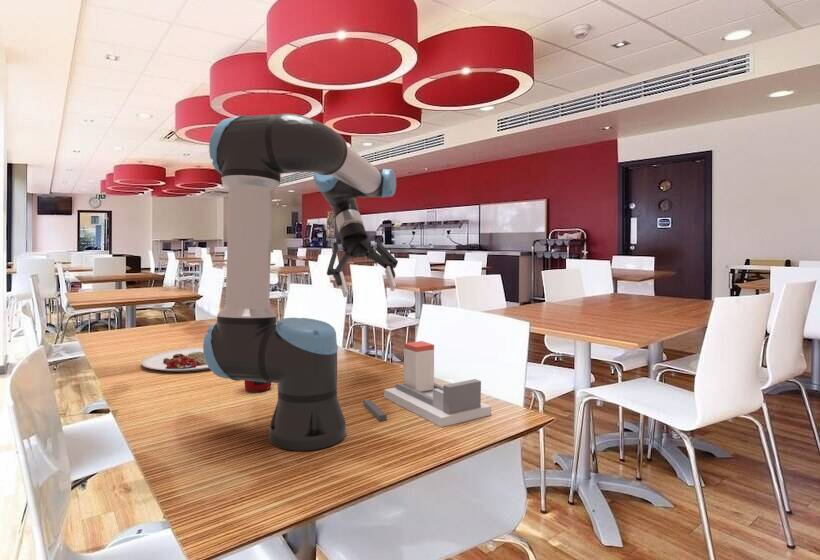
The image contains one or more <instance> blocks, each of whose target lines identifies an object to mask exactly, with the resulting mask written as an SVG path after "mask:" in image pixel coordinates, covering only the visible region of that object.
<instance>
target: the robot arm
mask: <svg viewBox="0 0 820 560" xmlns="http://www.w3.org/2000/svg"><path fill="white" fill-rule="evenodd" d="M210 135H211V136H210V137H209V139H210V140H209V145H208V146H209V147H208V151H209V152H208V153H209V157H210V159H211V160H212V162H211V163H212V166H213V168H214V169H215V170H216V171H217V172H218V173H219V174H221V182H222V183H223V184H224V185H225V186H226V187H227V189H228V209H227V210H228V211H227V212H228V215H227V218H228V219H227V247H226V249H227V251H226V277H225V278H226V280H225V281H226V282H225V284H226V286H225V306H224V307H223V308H222V309H221V310H220V311H219V312H218V313H217V316H216V318H217V320H216V322H214V323H212V324H211V325H210V326H209V327H208V329H207V330H206V332H207V333H206V334H204V337H203V342H202V343H203V345H202V347H203V352H204V358H205V361H206V363H207V365H208V367H209V369H208V370H210V371H211V372H212V374H214V375H215V376H217V377H219V378H222V379H227V380H231V381H234V382H235V381H236V382H238V381H244V382H245V381H257V382H269V383H271V384H272V383H273V384H277V403H276V405H275V408H274V411H273V414H272V418H271V421H270V425H269V429H268V431H269V433H268V434H269V435H268V438H269V442H270V444H272V446H275V447H277V448H279V449H283V450H286V451H287V450H288V451H295V452H296V451H298V452H299V451H300V452H301V451H302V452H303V451H304V452H305V451H306V452H307V451H313V450H314V451H315V450H316V451H317V450H321V449H325V448H328V447H332V446H334V445H336V444H339V443H340V442H342V441H343V440H344V439H345V437H346V435H347V422H346V419H345V415H344V414H343V410H342V407H341V405H340V402H339V398H338V350H339V346H338V341H337V340H338V339H337V332H336V329H335V328H334V326H332V325H331V324H330V323H328V322H326V321H323V320H320V319H314V318H308V317H286V318H281V319H279V320H278V321H277V314H276V313H275V312H274V311H273V310H272V309H271V307H270V289H271V263H272V262H271V258H272V257H271V254H272V251H271V250H272V225H273V223H272V222H273V221H272V219H273V194H274V191H276V190H277V189H278V188H279V187H280V186H281V176H282V175H281V174H295V173H296V174H297V173H313V182H314V183H315V186H316V187H317V190H318V191H319V192H320V193H321V195H322V196H323V198H324V199H325V200H326V202H327V203H328V205H329V206H330V208H331V209H332V212H333V216H334V220H335V223H336V227H337V230H338V233H339V238H340V241H341V243H338V242H337V241H334V242H333V243H332V247H331V251H332V254H331V257H330V260H329V263H328V267H327V271H326V275H327V276H332V277H333V279H335V283H336V285H337V286H338V287H339V286H340V288H341V292H342V295H343V298H347V297H348V293H349V291H348V290H349V289H348V287H347V282H346V279H345V276H344V271H342V270H343V269H344V267H345V266H346V265H347V262H348V261H349V260H350V259H351V257H352V258H353V259H355V258H356V259H357V258H364V257H366V258H368V259H371V260H372V261H374V262H375V263H377V264H378V265H379V266H380V267H382V268H383V269H385V270H384V272H385V276H386V280H387V282H388V284H389V285H388V286H389V288H390V292H393V291H395V289H396V286H397V285H396V281H395V277H396V272H395V268H396V267H397V266H398V261H399V260H397V259H396V258H395V257H394V255H392V254H391V252H390V251H389V250H387V248H386V247H385V246H384V245H383V244H382V242H381V240H380V238H378V237H376V238H375V239H374V240H372V241H371V240H369V238H368V235H367V231H366V228H365V226H364V225H365V224H364V221H363V219H362V216H361V213H360V210H359V207H358V203H357V200H356V198H390V197H394V195H395V194H396V190H397V176H396V173H395V172H394V171H393V169H390V168H389V169H387V168H382V169H381V168H380V169H379V168H377V167H375V166H374V165H373V164H372V163H371V162H370V161H367V160H366V159H365V158H364V157H362V156H361V155H360V154H358V153H357V152H356V151H354V150H353V149H352V148H350V147H349V146H348V145H347V141H346V140H345V138H344V137H343V136H342V135H341V134H340V133H339V132H337V131H336V130H334V129H333V128H331V127H329V126H328V125H326V124H324V123H322V122H320V121H318V120H315V119H313V118H310V117H308V116H304V115H301V114H296V113H278V114H261V115H260V114H258V115H237V116H235V117H228V118H227V117H226V118H225V119H222V120H221V121H220V122H219V123H217V124H216V125H215V127H214V128H213V130H212V132H211V134H210ZM341 250H342V251H344V252H345V253H344V255H343V256H342V258H341V260H339V262H338V264H337V266H336V267H335V268H334V266H335V262H336V260H337V256H338V253H339V252H340V251H341Z"/></svg>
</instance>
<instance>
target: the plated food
mask: <svg viewBox="0 0 820 560" xmlns="http://www.w3.org/2000/svg"><path fill="white" fill-rule="evenodd" d="M141 366H143V367H144V368H147V369H151V370H157V371H165V372H174V373H177V372H180V373H181V372H184V373H185V372H195V371H203V370H210V369H209V367H208V365H207V363H206V361H205V358H204V352H203V346H202V347H189V348H188V347H187V348H182V349H181V348H179V349H174V350H173V349H172V350H168V351H163V352H159V353H155V354H152V355H149V356H147V357H144V358H143V359H142V360H141Z"/></svg>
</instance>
